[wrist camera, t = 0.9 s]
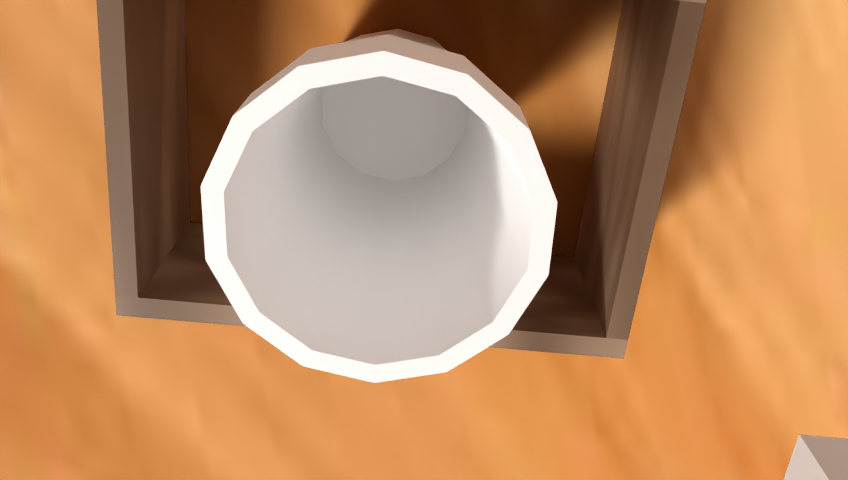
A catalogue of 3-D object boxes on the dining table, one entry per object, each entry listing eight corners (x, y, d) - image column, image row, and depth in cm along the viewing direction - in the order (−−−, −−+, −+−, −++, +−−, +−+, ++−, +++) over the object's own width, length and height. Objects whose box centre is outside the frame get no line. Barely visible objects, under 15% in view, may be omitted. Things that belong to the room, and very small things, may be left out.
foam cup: (345, -58, 31) (294, -21, 19) (551, 59, 32) (625, 160, 21) (245, 152, 34) (149, 297, 22) (437, 248, 36) (444, 429, 24)
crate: (171, 237, 36) (116, 315, 29) (161, -95, 30) (90, -89, 24) (588, 274, 36) (623, 358, 30) (652, -43, 31) (712, -24, 24)
